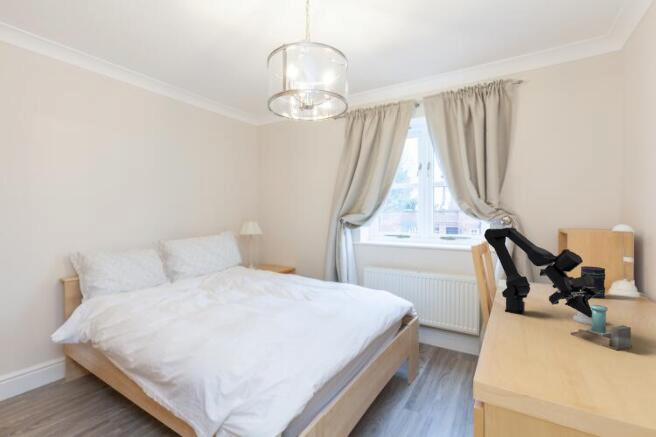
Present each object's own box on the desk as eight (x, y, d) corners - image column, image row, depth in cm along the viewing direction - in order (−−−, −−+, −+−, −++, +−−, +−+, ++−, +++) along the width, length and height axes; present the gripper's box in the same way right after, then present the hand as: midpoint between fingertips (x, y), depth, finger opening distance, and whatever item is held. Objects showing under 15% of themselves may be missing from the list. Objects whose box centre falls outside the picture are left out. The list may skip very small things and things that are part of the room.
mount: (570, 334, 111) (570, 315, 110) (585, 331, 113) (585, 313, 113) (616, 350, 97) (616, 329, 97) (632, 347, 100) (632, 327, 99)
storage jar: (600, 295, 164) (601, 267, 164) (608, 299, 155) (609, 270, 155) (577, 293, 168) (577, 265, 168) (583, 297, 159) (584, 268, 159)
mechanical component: (581, 325, 120) (612, 327, 118) (581, 314, 120) (612, 316, 118) (568, 317, 130) (595, 318, 127) (568, 306, 130) (596, 308, 127)
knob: (586, 336, 107) (586, 305, 107) (594, 334, 108) (595, 304, 108) (602, 341, 102) (602, 309, 102) (611, 340, 104) (612, 308, 103)
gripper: (557, 267, 110) (591, 307, 99) (593, 265, 115) (630, 302, 104) (536, 285, 117) (566, 323, 107) (571, 282, 123) (603, 318, 112)
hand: (592, 316), depth 107 cm, fingers closed, pressing on knob
